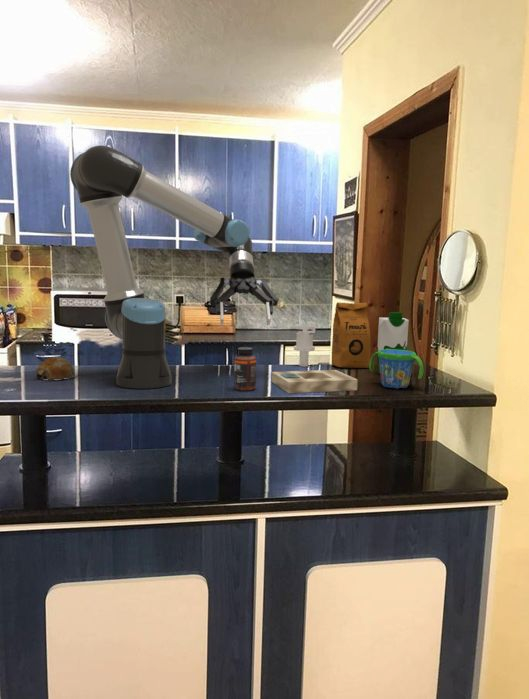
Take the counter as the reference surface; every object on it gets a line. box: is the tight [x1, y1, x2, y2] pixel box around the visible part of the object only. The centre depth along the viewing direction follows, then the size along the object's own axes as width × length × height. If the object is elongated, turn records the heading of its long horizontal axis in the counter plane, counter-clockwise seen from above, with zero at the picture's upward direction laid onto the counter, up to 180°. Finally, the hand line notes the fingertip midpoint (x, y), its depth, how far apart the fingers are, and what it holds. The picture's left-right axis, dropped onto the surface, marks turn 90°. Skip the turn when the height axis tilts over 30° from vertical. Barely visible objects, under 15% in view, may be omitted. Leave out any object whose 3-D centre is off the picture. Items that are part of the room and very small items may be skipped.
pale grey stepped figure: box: [293, 321, 317, 368], centre depth 194 cm, size 7×7×15 cm
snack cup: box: [368, 349, 424, 390], centre depth 163 cm, size 16×10×10 cm
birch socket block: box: [271, 369, 358, 394], centre depth 162 cm, size 20×15×3 cm
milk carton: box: [376, 311, 410, 375], centre depth 181 cm, size 9×9×20 cm
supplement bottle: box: [233, 346, 257, 392], centre depth 156 cm, size 6×6×11 cm
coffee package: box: [331, 302, 372, 369], centre depth 193 cm, size 10×12×22 cm
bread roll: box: [35, 356, 75, 380], centre depth 166 cm, size 10×10×8 cm
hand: (245, 322), depth 166 cm, fingers open, 13 cm apart
